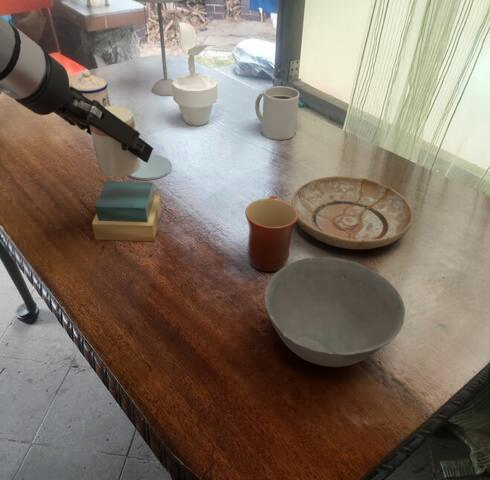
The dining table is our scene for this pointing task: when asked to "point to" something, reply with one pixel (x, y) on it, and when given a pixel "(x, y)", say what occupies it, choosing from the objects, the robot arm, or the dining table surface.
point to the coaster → (153, 168)
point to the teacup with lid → (92, 88)
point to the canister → (114, 148)
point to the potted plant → (193, 81)
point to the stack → (127, 212)
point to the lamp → (165, 84)
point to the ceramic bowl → (352, 212)
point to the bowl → (333, 310)
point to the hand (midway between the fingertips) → (131, 148)
